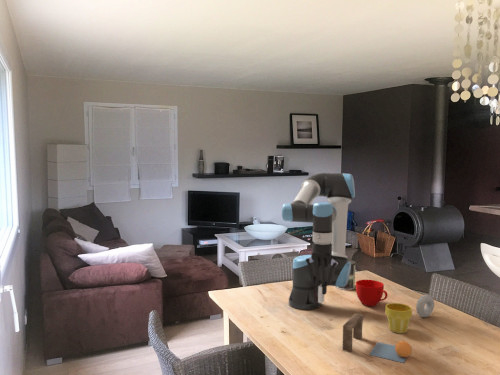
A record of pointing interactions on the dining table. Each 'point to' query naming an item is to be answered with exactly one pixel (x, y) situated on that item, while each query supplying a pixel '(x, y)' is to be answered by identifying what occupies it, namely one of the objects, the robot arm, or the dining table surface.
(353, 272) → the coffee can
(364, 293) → the ceramic cup
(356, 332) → the bridge
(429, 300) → the donut
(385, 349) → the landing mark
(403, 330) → the plant pot
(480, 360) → the dining table surface
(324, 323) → the dining table surface
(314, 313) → the dining table surface
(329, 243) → the robot arm
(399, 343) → the ball
